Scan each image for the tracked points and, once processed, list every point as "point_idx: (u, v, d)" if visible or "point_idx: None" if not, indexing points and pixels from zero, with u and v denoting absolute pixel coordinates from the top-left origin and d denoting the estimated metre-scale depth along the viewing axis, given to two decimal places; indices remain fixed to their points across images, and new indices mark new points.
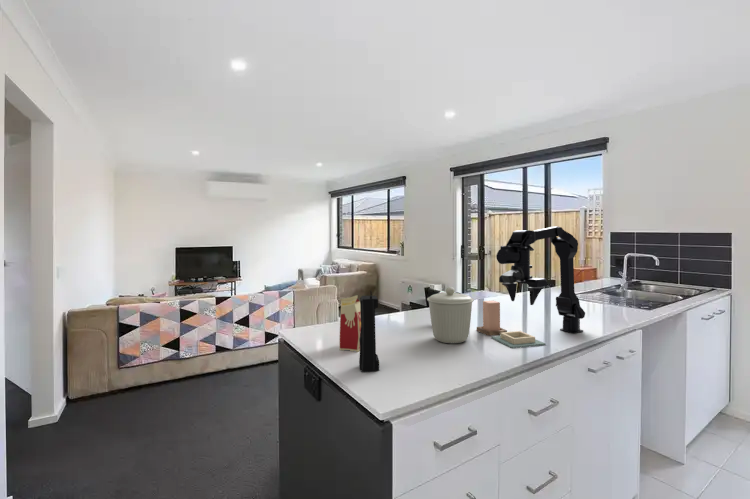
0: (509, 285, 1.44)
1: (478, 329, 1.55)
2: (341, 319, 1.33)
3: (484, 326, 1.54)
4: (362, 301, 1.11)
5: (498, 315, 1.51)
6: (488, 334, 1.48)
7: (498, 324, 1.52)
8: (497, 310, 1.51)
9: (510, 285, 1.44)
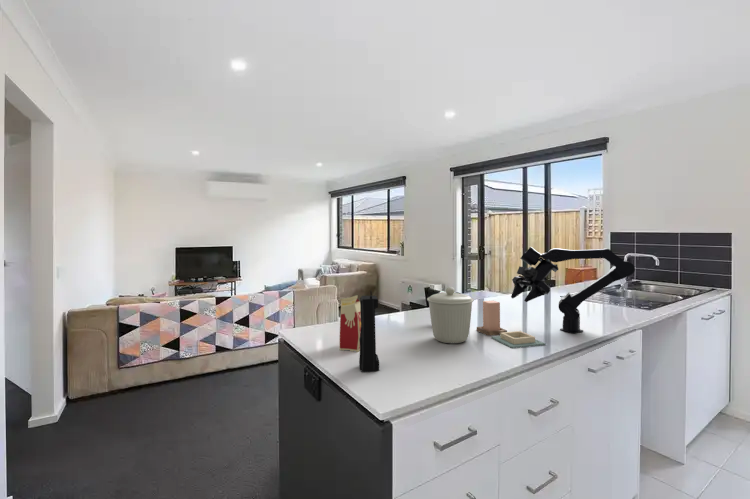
0: (518, 284, 1.60)
1: (478, 329, 1.55)
2: (341, 319, 1.33)
3: (484, 326, 1.54)
4: (362, 301, 1.11)
5: (498, 315, 1.51)
6: (488, 334, 1.48)
7: (498, 324, 1.52)
8: (497, 310, 1.51)
9: (518, 285, 1.60)
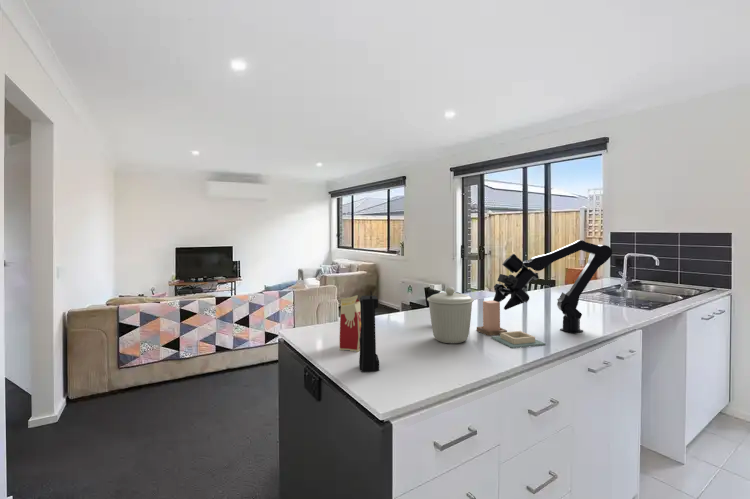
0: (499, 292, 1.60)
1: (478, 329, 1.55)
2: (341, 319, 1.33)
3: (484, 326, 1.54)
4: (362, 301, 1.11)
5: (498, 315, 1.51)
6: (488, 334, 1.48)
7: (498, 324, 1.52)
8: (497, 310, 1.51)
9: (499, 293, 1.60)
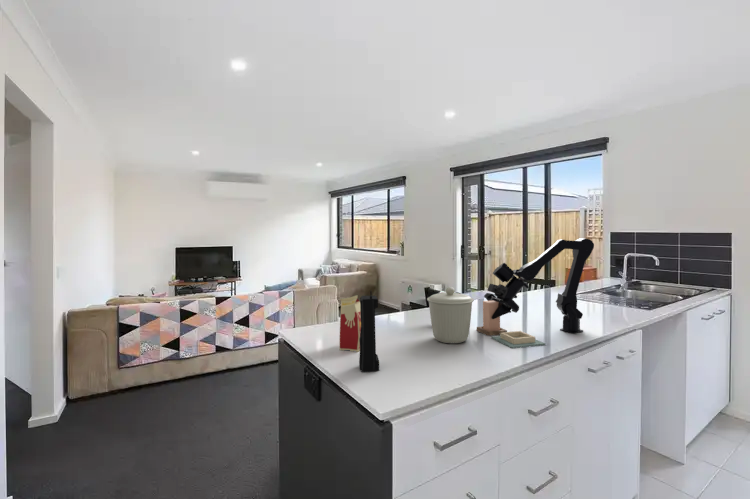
0: None
1: (478, 329, 1.55)
2: (341, 319, 1.33)
3: (484, 326, 1.54)
4: (362, 301, 1.11)
5: None
6: (488, 334, 1.48)
7: (498, 324, 1.52)
8: None
9: None
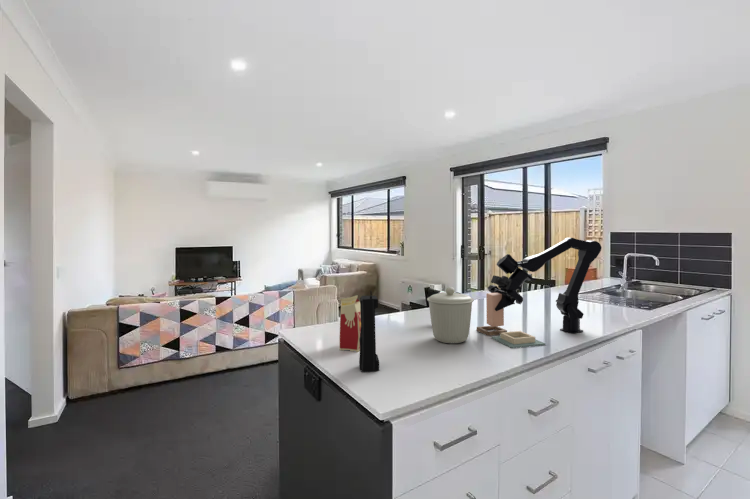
0: None
1: (478, 329, 1.55)
2: (341, 319, 1.33)
3: (487, 318, 1.52)
4: (362, 301, 1.11)
5: None
6: (488, 334, 1.48)
7: (502, 316, 1.49)
8: None
9: None
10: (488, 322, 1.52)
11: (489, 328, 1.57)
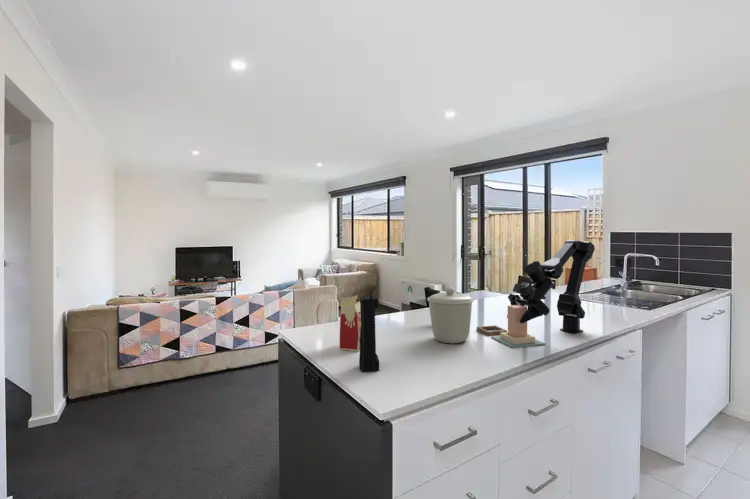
0: (514, 303, 1.44)
1: (478, 329, 1.55)
2: (341, 319, 1.33)
3: (509, 333, 1.40)
4: (362, 301, 1.11)
5: None
6: (488, 334, 1.48)
7: (525, 331, 1.38)
8: None
9: (515, 304, 1.44)
10: None
11: (489, 328, 1.57)
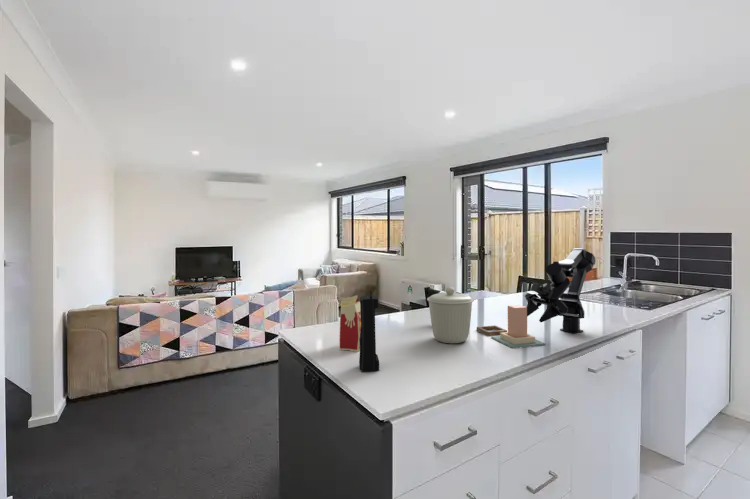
0: (531, 302, 1.47)
1: (478, 329, 1.55)
2: (341, 319, 1.33)
3: (509, 333, 1.40)
4: (362, 301, 1.11)
5: (525, 321, 1.37)
6: (488, 334, 1.48)
7: (525, 331, 1.38)
8: (524, 315, 1.37)
9: (532, 303, 1.47)
10: None
11: (489, 328, 1.57)
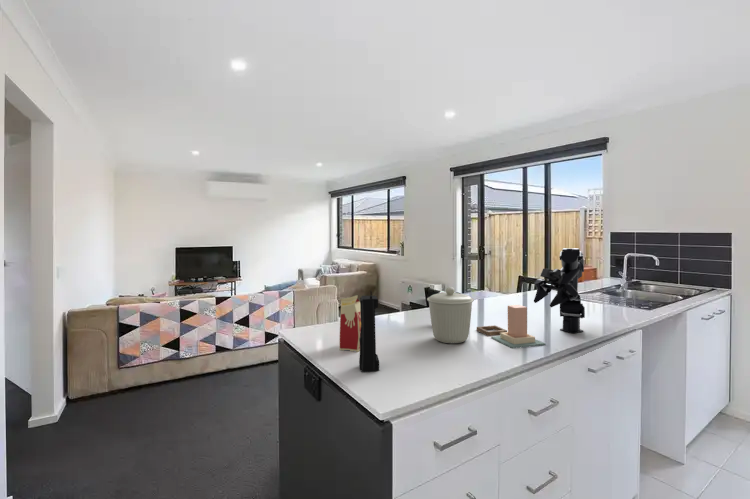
0: (541, 288, 1.48)
1: (478, 329, 1.55)
2: (341, 319, 1.33)
3: (509, 333, 1.40)
4: (362, 301, 1.11)
5: (525, 321, 1.37)
6: (488, 334, 1.48)
7: (525, 331, 1.38)
8: (524, 315, 1.37)
9: (542, 289, 1.48)
10: None
11: (489, 328, 1.57)
